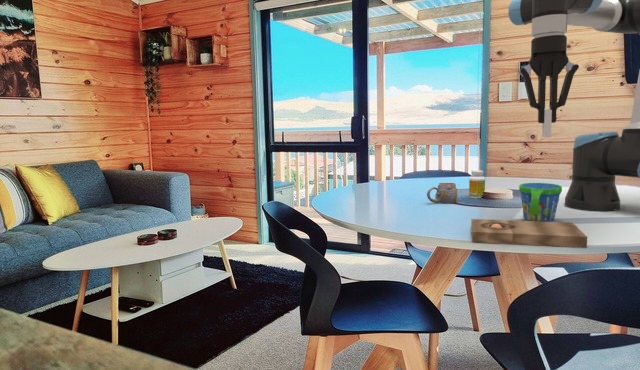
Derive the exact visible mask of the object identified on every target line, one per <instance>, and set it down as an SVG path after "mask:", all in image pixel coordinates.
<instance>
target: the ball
mask: <svg viewBox="0 0 640 370" xmlns="http://www.w3.org/2000/svg"><path fill="white" fill-rule="evenodd" d="M491 227H494V228H502V226H501V225H499V224H493V225H492V226H491Z"/></svg>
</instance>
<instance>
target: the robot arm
mask: <svg viewBox="0 0 640 370" xmlns="http://www.w3.org/2000/svg"><path fill="white" fill-rule="evenodd" d="M507 9H508V10H507V11H508V13H507V14H508V18H509V20H510V22H511V24H513V25H515V26H526V25H528V24H531V37H533V38H532V40H531V44H530V45H531V46H530V54H531V55H530V59H529V60H528V64H527V65H525V66H523V67H522V68H520V69H519V71H518V73H519V75H520V76H521V77H522V79H523V83H524V87H525V91H526V95H527V99H528V103H529V106H530V108H533V109H535V110H537V122H538V124H542V125H541V126H542V128H541V130H542V131H541V137H543V138H551V137H552V123H553V124H555V123H556V122H557V110H558V109H559V108H561V107H564V106H565V105H566V103H567V101H568V100H567V99H568V96H569V94H570V93H569V92H570V89H571V86H572V82H573V79H574V76H575V73H576V72H577V71H578V70H579V68H580V66H579V64H577V63H576V64H575V63H573V62H572V61H570V59H569V56H568V53H567V47H568V45H567V41H568V37H567V36H566V35H565V34H567V32H568V26H572V27H583V28H592V29H593V30H594V31H596V32H601V33H602V32H604V33H613V34H631V35H632V34H640V0H511V1H510V3H509V5H508V8H507ZM564 68H565V71H566V74H565V76H564V80H563V83H562V87H561V91H560V93H559V98H558V88H559V87H558V82H559V81H558V80H559V75H560V74H561V72H562V71H563V70H564ZM531 70H532V71H533V72H534V73H535V75H536V77H537V81H538V84H537V87H538V88H537V99H536V94H535V91H534V87H533V82H532V78H531V75H530V74H531V73H532V72H531ZM547 77H549V101H548V102H549V104H548V105H549V106H548V108H549V109H546V92H547V91H546V89H547V83H546V81H547ZM633 99H634V100H633V105H632V109H631V110H632V111H631V117H630V122H629V124H628V125H626V126H625V127H623V129H622V132H621V136H620V134H619V132H618V131H606V132H605V131H604V132H592V133H587V134H586V133H585V134H580V135H577V136H576V137H575V138H574V142H573V148H572V153H573V154H572V173H571V183H570V186H569V188H568V190H567V192H566V194H565V197H564V205H565V206H566V207H568V208H571V209H572V208H573V209H577V210H584V211H597V212H598V211H601V212H602V211H603V212H604V211H605V212H606V211H607V212H608V211H616V210H619V209H621V198H620V194H619V192H618V189H617V186H616V176H618V177H627V178H636V179H638V178H639V179H640V70H639V72H638V77H637V83H636V87H635V95H634V98H633Z"/></svg>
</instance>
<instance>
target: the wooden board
mask: <svg viewBox="0 0 640 370" xmlns="http://www.w3.org/2000/svg"><path fill="white" fill-rule="evenodd" d="M470 223H471V225H470V226H471V227H470V229H471V231H472V232H471V238H472V243H482V244H484V243H485V244H504V245H505V244H506V245H519V246H520V245H524V246H525V245H526V246H542V247H543V246H544V247H561V248H585V249H587V247H588V236H587V235H586V234H585V233H584V232H583V231H582V230H581V229H580V228H579V227H578V226H577V225H576V224H575V223H574V222H571V221H570V222H566V221H553V222H542V221H525V220H510V219H509V220H508V219H507V220H506V219H504V220H503V219H485V218H484V219H483V218H482V219H481V218H471V222H470ZM493 224H499V225H501V226H502V228H494V227H491V226H492V225H493Z"/></svg>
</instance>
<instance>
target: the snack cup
mask: <svg viewBox="0 0 640 370" xmlns="http://www.w3.org/2000/svg"><path fill="white" fill-rule="evenodd" d="M518 189H519V192H520V198H521V199H520V200H521V207H522V214H523V215H522V216H523V220H524V221H542V222H555V217H556V213H557V209H558V204H559V200H560V195H561V193H562V191H563V186H562V185H560V184H554V183H547V182H546V183H545V182H525V183H521V184H519V186H518Z"/></svg>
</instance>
